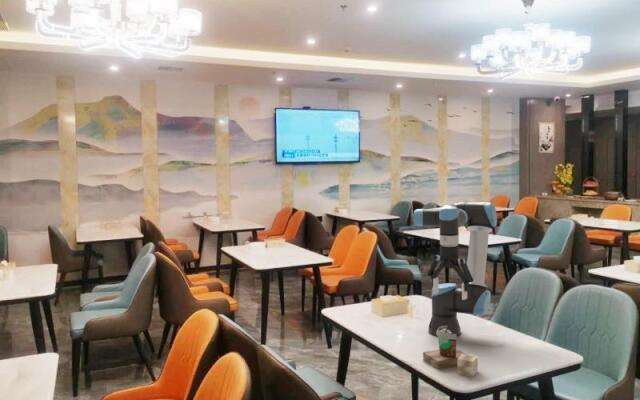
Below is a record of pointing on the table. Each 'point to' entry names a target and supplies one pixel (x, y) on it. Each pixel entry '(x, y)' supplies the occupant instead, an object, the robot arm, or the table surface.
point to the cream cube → (467, 365)
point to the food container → (446, 342)
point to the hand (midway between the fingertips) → (450, 296)
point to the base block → (441, 359)
